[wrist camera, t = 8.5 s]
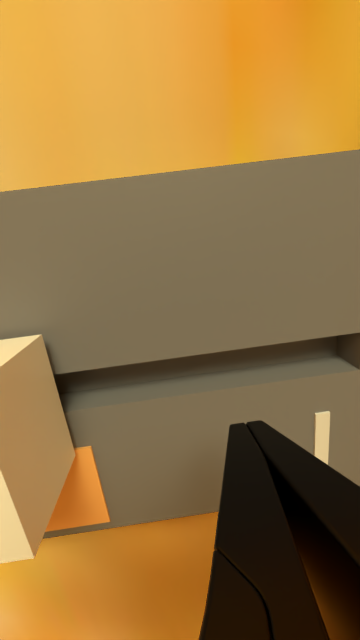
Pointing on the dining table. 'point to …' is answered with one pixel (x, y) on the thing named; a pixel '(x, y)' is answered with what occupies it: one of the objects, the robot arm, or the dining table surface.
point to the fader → (29, 446)
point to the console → (189, 324)
